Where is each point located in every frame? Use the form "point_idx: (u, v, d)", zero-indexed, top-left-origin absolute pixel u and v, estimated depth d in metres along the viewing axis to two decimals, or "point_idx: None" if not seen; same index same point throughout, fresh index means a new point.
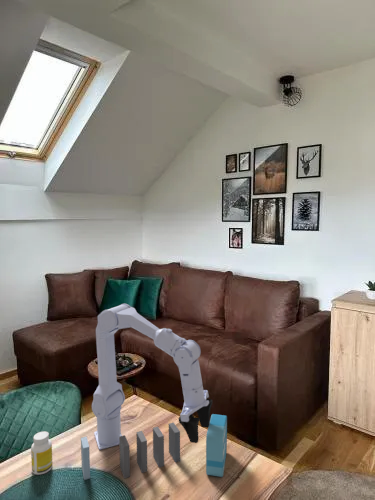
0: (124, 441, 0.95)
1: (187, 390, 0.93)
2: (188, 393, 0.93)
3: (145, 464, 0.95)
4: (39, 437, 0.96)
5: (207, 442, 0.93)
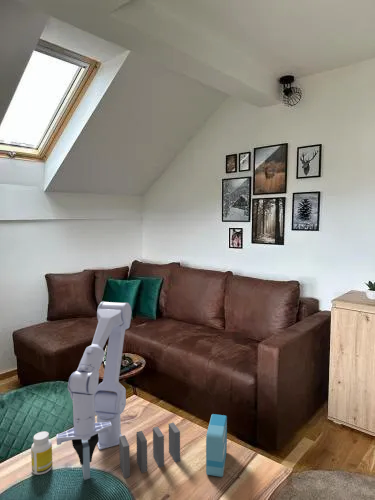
0: (124, 441, 0.95)
1: (73, 416, 0.93)
2: (73, 419, 0.93)
3: (145, 464, 0.95)
4: (39, 437, 0.96)
5: (207, 442, 0.93)
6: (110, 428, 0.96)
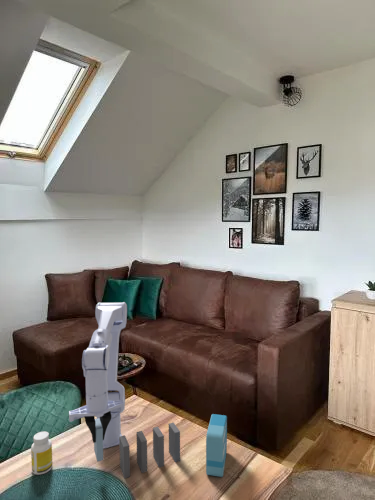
0: (124, 441, 0.95)
1: (86, 393, 0.91)
2: (86, 396, 0.91)
3: (145, 464, 0.95)
4: (39, 437, 0.96)
5: (207, 442, 0.93)
6: (123, 406, 0.95)
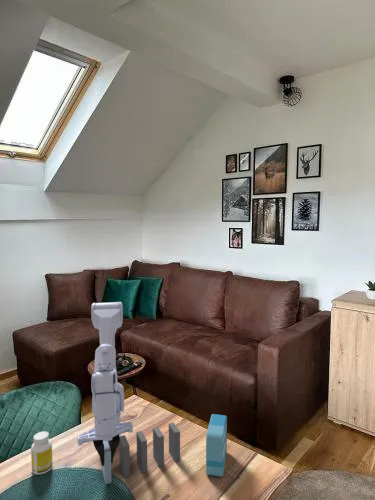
0: (124, 441, 0.95)
1: (94, 417, 0.91)
2: None
3: (145, 464, 0.95)
4: (39, 437, 0.96)
5: (207, 442, 0.93)
6: (131, 428, 0.95)
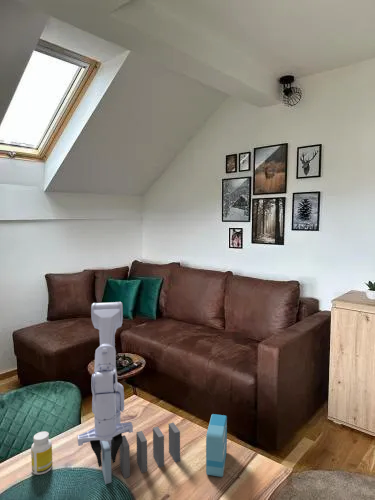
0: (124, 441, 0.95)
1: (94, 417, 0.91)
2: None
3: (145, 464, 0.95)
4: (39, 437, 0.96)
5: (207, 442, 0.93)
6: (131, 429, 0.95)
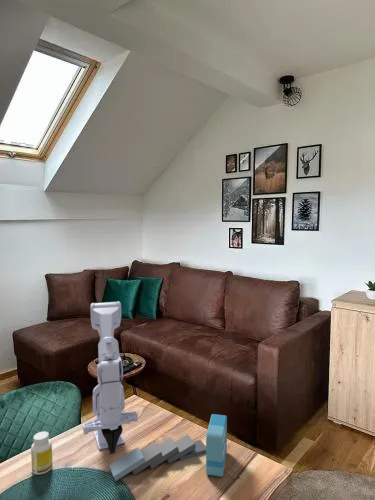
0: (159, 449, 0.99)
1: (100, 406, 0.92)
2: (100, 409, 0.92)
3: (157, 463, 0.97)
4: (39, 437, 0.96)
5: (207, 442, 0.93)
6: (136, 418, 0.95)
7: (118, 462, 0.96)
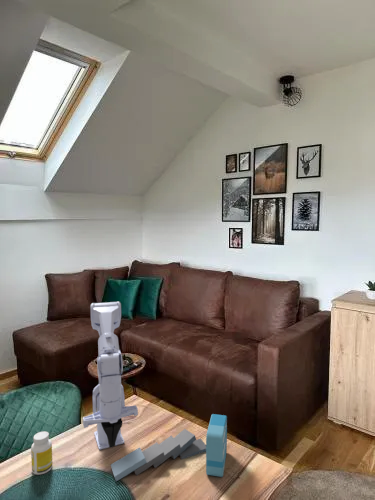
0: None
1: (99, 399, 0.92)
2: (100, 402, 0.92)
3: (160, 461, 0.98)
4: (39, 437, 0.96)
5: (207, 442, 0.93)
6: (136, 412, 0.95)
7: (119, 462, 0.96)
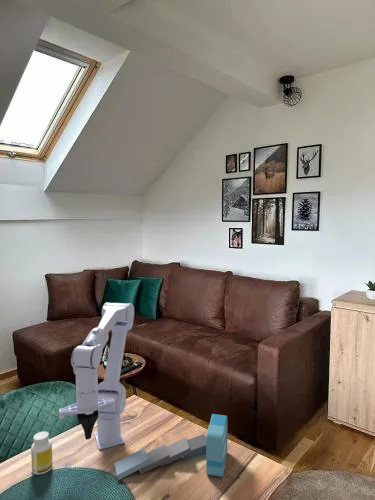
0: None
1: (76, 391, 0.93)
2: (76, 394, 0.93)
3: (168, 461, 0.98)
4: (39, 437, 0.96)
5: (207, 442, 0.93)
6: (113, 404, 0.96)
7: (123, 461, 0.97)
